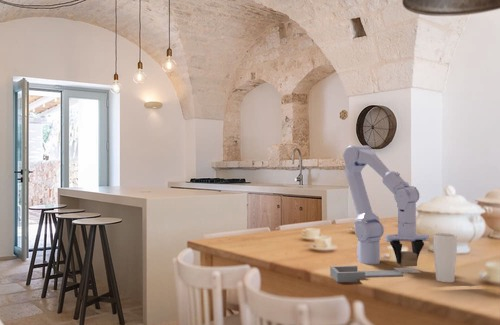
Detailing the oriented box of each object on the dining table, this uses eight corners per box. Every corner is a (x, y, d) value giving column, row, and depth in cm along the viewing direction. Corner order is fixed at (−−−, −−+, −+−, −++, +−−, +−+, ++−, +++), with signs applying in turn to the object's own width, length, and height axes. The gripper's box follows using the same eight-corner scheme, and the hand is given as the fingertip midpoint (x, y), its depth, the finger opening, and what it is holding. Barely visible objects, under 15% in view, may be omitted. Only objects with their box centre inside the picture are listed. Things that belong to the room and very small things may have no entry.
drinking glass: (450, 280, 151) (450, 233, 151) (461, 285, 144) (460, 236, 144) (429, 280, 151) (429, 233, 151) (439, 286, 144) (438, 237, 144)
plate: (393, 270, 164) (393, 267, 164) (412, 270, 164) (412, 267, 164) (401, 275, 157) (401, 272, 157) (421, 275, 157) (421, 272, 157)
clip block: (396, 263, 163) (396, 251, 163) (410, 262, 163) (410, 251, 163) (402, 266, 158) (402, 254, 158) (417, 266, 158) (417, 254, 158)
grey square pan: (330, 275, 158) (330, 266, 158) (394, 273, 160) (394, 264, 160) (337, 282, 149) (337, 273, 149) (405, 280, 151) (404, 270, 151)
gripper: (390, 224, 156) (390, 265, 156) (433, 223, 157) (432, 264, 157) (382, 221, 163) (382, 260, 163) (423, 220, 164) (423, 259, 164)
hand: (406, 262), depth 161 cm, fingers closed on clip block, 5 cm apart
